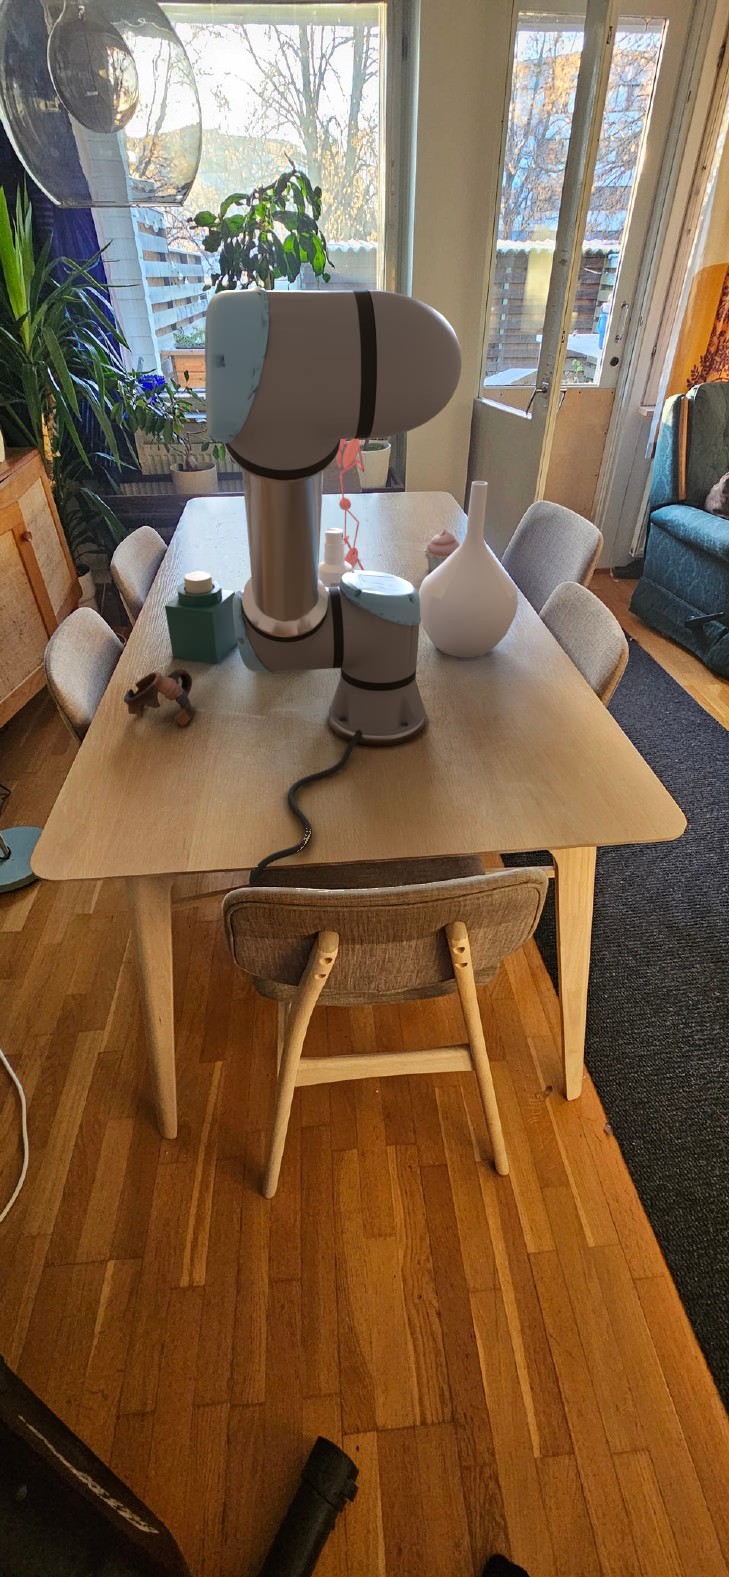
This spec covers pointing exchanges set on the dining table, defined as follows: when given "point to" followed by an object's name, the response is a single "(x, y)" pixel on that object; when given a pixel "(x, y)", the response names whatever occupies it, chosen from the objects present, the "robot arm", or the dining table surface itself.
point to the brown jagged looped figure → (167, 687)
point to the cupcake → (440, 549)
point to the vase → (468, 592)
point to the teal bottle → (201, 624)
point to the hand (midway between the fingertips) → (279, 574)
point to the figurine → (344, 503)
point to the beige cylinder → (198, 582)
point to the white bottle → (333, 559)
